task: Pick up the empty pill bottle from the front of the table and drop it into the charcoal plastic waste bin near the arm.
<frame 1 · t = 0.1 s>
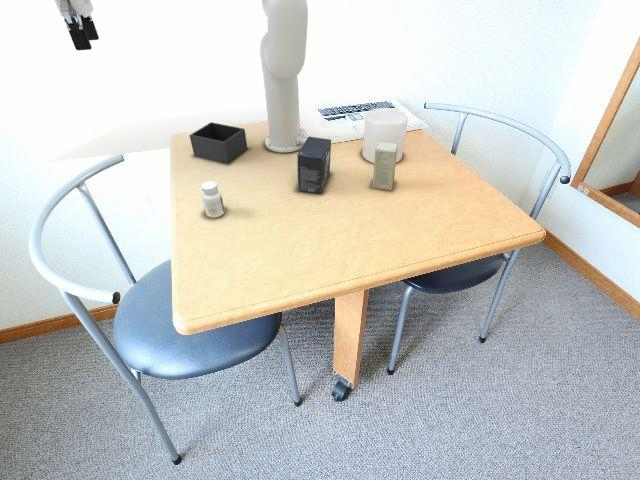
hand: (88, 44, 86), 31 cm above the table, tool pointing down, fingers open, 9 cm apart
box 2: (314, 182, 98), on the table
box: (382, 185, 97), on the table
bin: (221, 152, 111), on the table
cup: (381, 155, 110), on the table
pill bottle: (215, 213, 88), on the table
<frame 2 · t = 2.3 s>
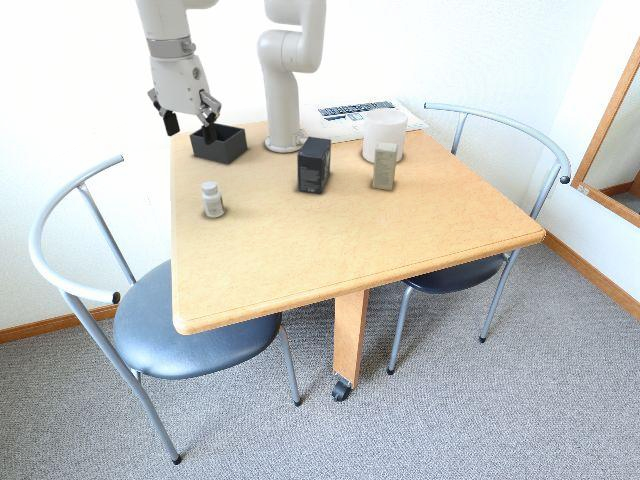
hand: (192, 138, 76), 19 cm above the table, tool pointing down, fingers open, 9 cm apart
nothing on the table moved.
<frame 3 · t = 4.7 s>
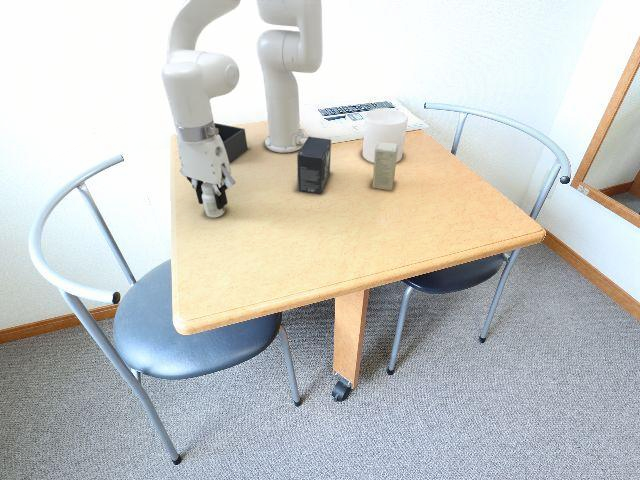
hand: (213, 203, 86), 3 cm above the table, tool pointing down, fingers closed on pill bottle, 4 cm apart
pill bottle: (215, 213, 88), on the table, touching gripper
everything else where it was.
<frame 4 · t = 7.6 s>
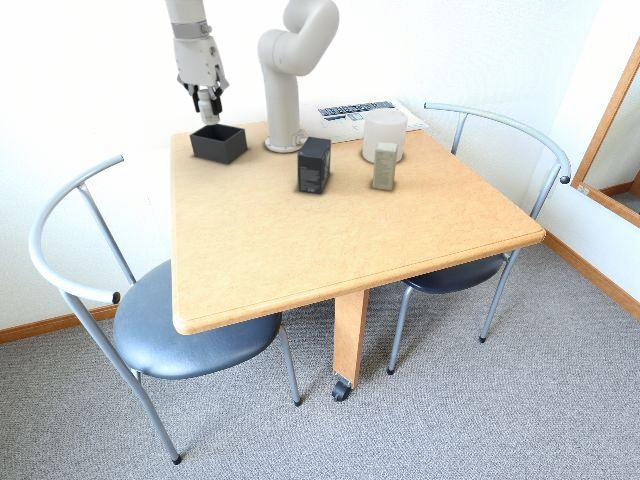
hand: (209, 111, 92), 17 cm above the table, tool pointing down, fingers closed on pill bottle, 4 cm apart
pill bottle: (211, 122, 94), point 14 cm above the table, touching gripper
everything else where it was.
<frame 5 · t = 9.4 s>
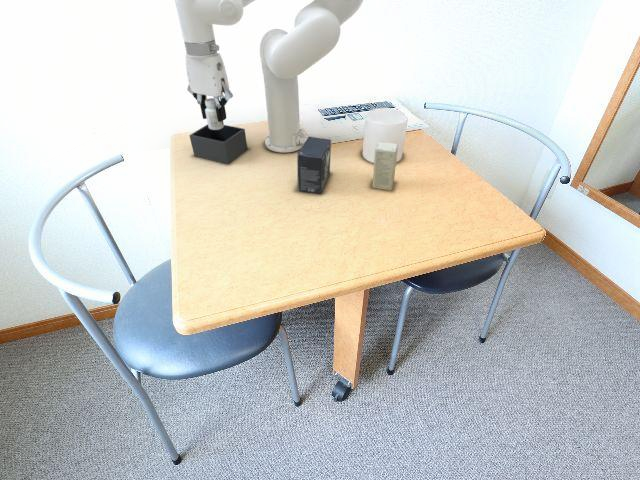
hand: (214, 118, 104), 11 cm above the table, tool pointing down, fingers closed on pill bottle, 4 cm apart
pill bottle: (216, 127, 106), point 8 cm above the table, touching gripper
everything else where it was.
when the fingers open (7 cm above the table, at t = 10.8 s): pill bottle drops 4 cm, resting on bin.
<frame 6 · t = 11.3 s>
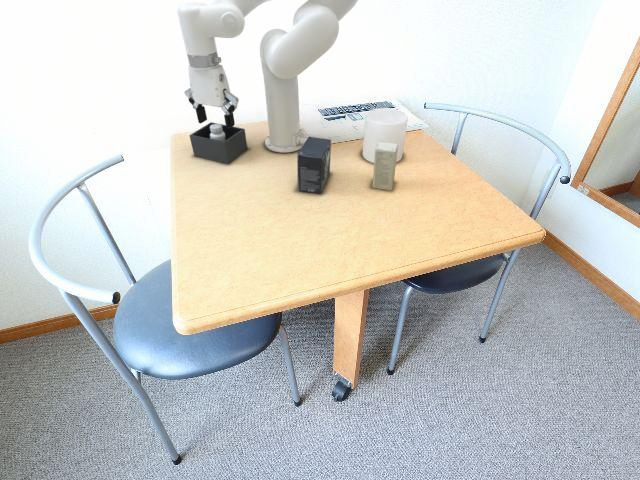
hand: (216, 124, 105), 9 cm above the table, tool pointing down, fingers open, 9 cm apart
pill bottle: (220, 151, 111), resting on bin
everything else where it was.
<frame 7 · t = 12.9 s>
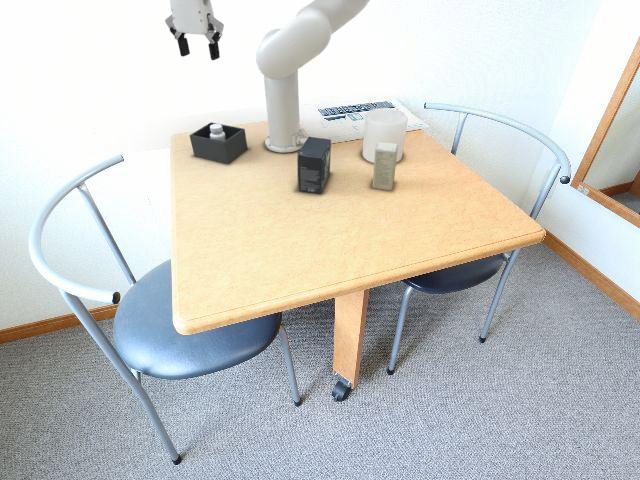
hand: (200, 57, 99), 25 cm above the table, tool pointing down, fingers open, 9 cm apart
nothing on the table moved.
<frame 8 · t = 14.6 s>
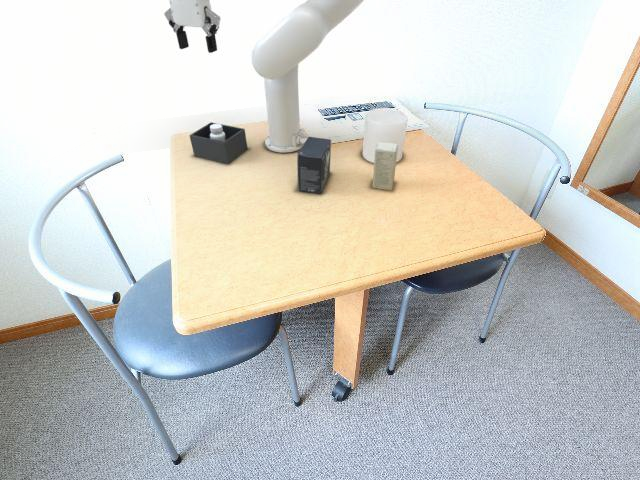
hand: (198, 49, 101), 26 cm above the table, tool pointing down, fingers open, 9 cm apart
nothing on the table moved.
at the end: pill bottle inside the target area in the bin (0.2 cm from its centre), point 0.4 cm above the bin's base; the gripper is holding nothing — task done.
